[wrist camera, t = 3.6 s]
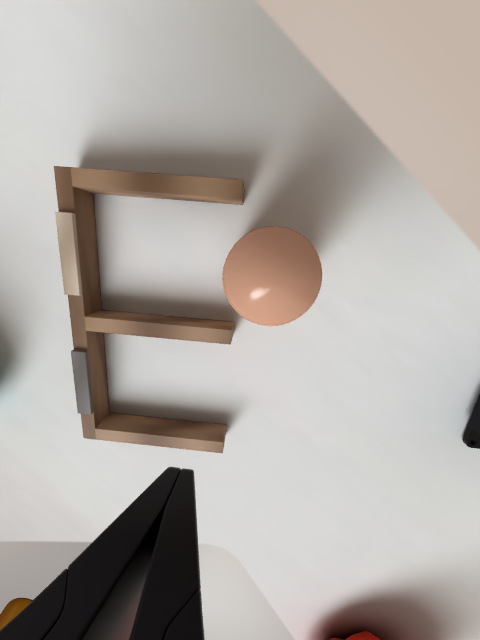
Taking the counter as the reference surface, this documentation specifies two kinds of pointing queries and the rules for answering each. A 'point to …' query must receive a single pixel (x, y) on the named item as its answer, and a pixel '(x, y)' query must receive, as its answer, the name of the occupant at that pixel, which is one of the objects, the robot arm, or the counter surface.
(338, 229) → the counter surface
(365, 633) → the tomato
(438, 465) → the counter surface
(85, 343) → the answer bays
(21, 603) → the condiment bottle set
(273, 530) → the counter surface
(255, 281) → the peach domed cylinder
